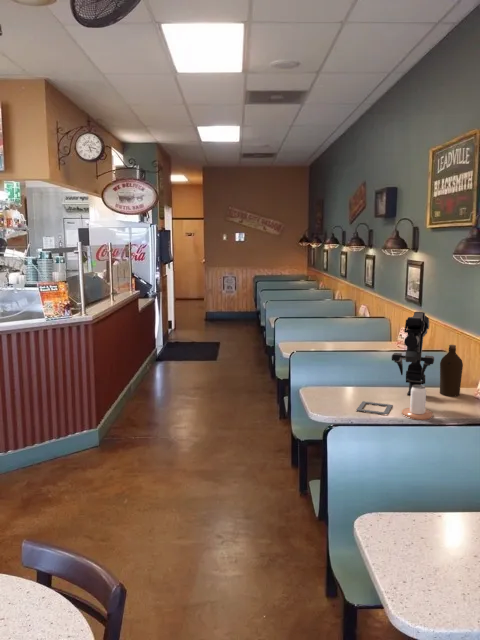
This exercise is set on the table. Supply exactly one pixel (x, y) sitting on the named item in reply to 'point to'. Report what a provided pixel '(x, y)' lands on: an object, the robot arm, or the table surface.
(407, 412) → the plate
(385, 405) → the gray square frame
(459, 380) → the olive oil
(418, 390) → the can
